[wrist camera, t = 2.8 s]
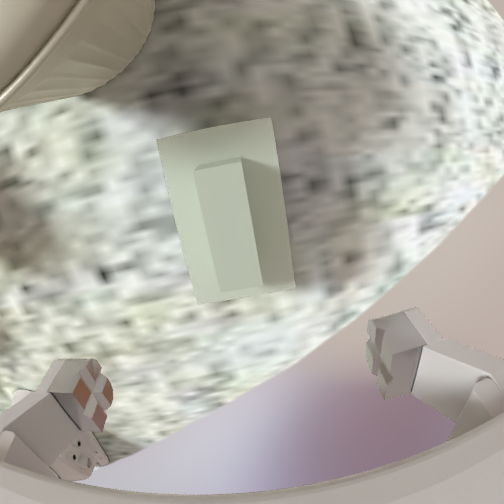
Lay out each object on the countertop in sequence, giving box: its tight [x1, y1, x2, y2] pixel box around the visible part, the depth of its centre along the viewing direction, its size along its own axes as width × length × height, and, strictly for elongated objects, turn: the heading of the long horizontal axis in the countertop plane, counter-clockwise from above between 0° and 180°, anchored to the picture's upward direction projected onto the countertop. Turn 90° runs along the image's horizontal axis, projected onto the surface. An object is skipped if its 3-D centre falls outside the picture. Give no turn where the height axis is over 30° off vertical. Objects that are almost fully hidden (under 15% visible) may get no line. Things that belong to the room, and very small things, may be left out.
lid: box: [157, 117, 296, 304], centre depth 21 cm, size 13×8×5 cm, turn 10°
